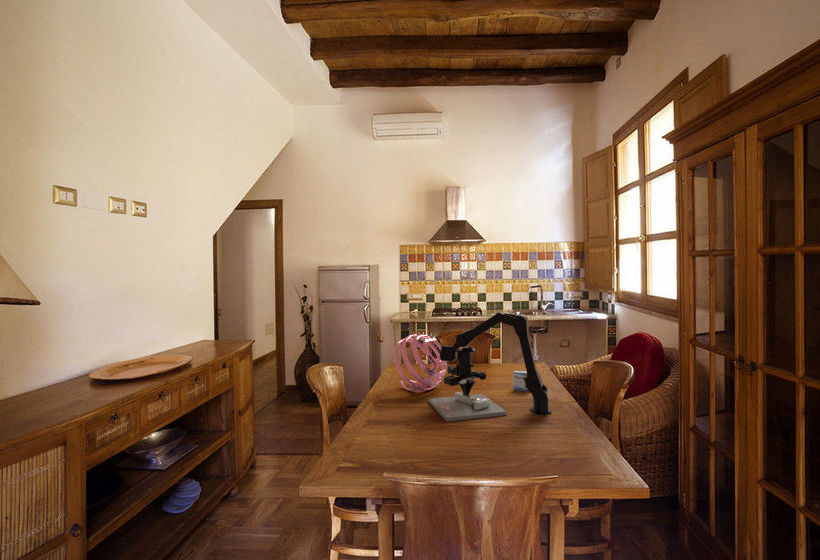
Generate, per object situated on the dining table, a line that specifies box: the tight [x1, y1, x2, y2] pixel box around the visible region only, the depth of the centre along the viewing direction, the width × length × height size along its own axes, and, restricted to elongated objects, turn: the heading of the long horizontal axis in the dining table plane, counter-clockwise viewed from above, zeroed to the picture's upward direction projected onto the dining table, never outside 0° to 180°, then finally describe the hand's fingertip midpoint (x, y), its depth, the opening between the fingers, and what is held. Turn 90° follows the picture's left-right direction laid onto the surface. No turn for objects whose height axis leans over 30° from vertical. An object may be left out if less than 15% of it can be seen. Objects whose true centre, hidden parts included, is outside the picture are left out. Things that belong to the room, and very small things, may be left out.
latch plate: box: [428, 393, 507, 422], centre depth 179 cm, size 25×25×2 cm
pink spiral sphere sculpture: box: [393, 333, 448, 392], centre depth 209 cm, size 28×28×27 cm
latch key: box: [454, 391, 491, 410], centre depth 179 cm, size 16×7×3 cm, turn 37°
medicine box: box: [512, 370, 530, 393], centre depth 204 cm, size 8×4×9 cm, turn 62°
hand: (466, 397), depth 184 cm, fingers closed
